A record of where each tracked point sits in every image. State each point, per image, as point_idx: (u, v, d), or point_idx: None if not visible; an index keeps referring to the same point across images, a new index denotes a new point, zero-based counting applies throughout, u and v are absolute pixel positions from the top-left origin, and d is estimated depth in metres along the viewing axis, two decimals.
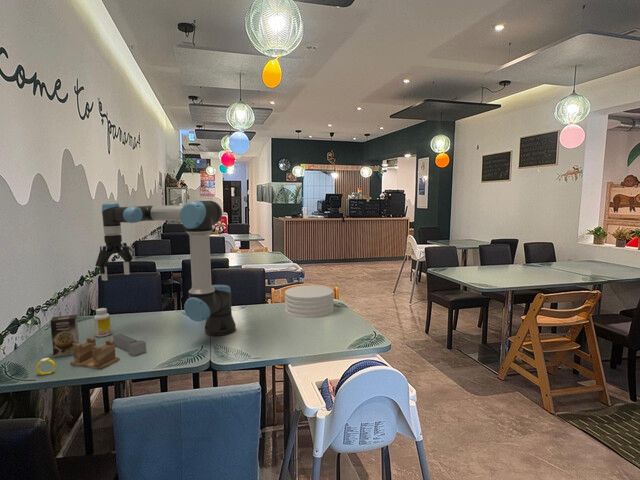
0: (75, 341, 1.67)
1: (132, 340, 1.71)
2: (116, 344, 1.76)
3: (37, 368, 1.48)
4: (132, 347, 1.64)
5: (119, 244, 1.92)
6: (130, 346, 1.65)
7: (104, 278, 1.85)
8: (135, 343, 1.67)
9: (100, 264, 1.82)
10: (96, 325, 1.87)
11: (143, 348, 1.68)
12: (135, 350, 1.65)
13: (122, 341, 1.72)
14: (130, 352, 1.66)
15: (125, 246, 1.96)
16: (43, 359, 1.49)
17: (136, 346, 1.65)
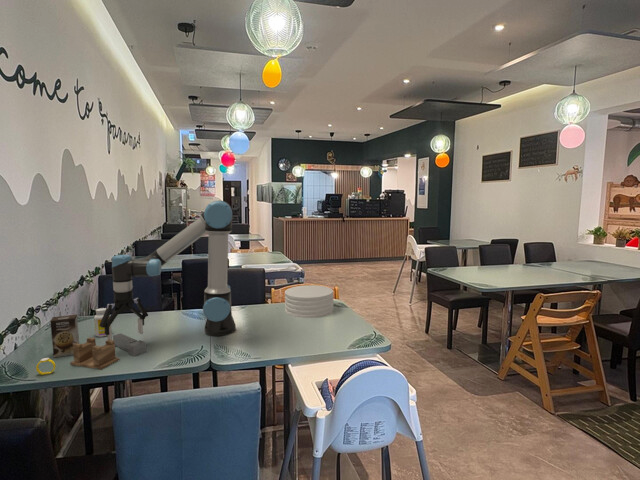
0: (75, 341, 1.67)
1: (132, 340, 1.71)
2: (116, 344, 1.76)
3: (37, 368, 1.48)
4: (132, 347, 1.64)
5: (130, 301, 1.72)
6: (130, 346, 1.65)
7: (109, 339, 1.66)
8: (135, 343, 1.67)
9: (103, 325, 1.63)
10: (96, 325, 1.87)
11: (143, 348, 1.68)
12: (135, 350, 1.65)
13: (122, 341, 1.72)
14: (130, 352, 1.66)
15: (138, 302, 1.75)
16: (43, 359, 1.49)
17: (136, 346, 1.65)
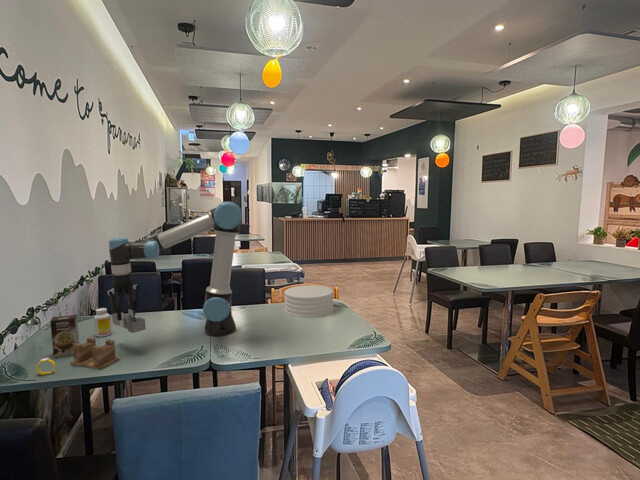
0: (75, 341, 1.67)
1: (131, 317, 1.70)
2: (115, 322, 1.75)
3: (37, 368, 1.48)
4: (131, 324, 1.63)
5: (130, 283, 1.71)
6: (129, 323, 1.64)
7: (121, 325, 1.70)
8: (134, 320, 1.66)
9: (115, 311, 1.66)
10: (96, 325, 1.87)
11: (142, 325, 1.67)
12: (135, 326, 1.64)
13: None
14: (129, 329, 1.65)
15: (136, 289, 1.73)
16: (43, 359, 1.49)
17: (135, 323, 1.64)
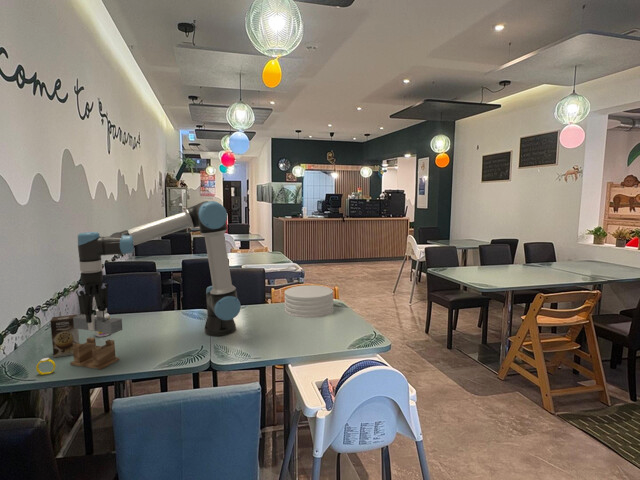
0: (75, 341, 1.67)
1: (103, 318, 1.56)
2: (79, 326, 1.57)
3: (37, 368, 1.48)
4: (109, 324, 1.51)
5: (100, 281, 1.57)
6: (105, 324, 1.51)
7: (91, 328, 1.54)
8: (110, 320, 1.53)
9: (86, 312, 1.51)
10: None
11: (119, 325, 1.55)
12: (113, 327, 1.52)
13: None
14: (105, 330, 1.52)
15: (106, 288, 1.60)
16: (43, 359, 1.49)
17: (113, 323, 1.52)
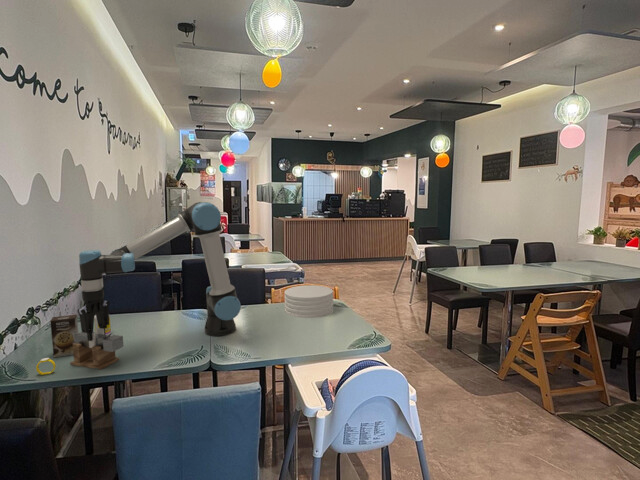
0: None
1: (104, 336, 1.56)
2: None
3: (37, 368, 1.48)
4: (110, 342, 1.52)
5: (101, 299, 1.58)
6: (107, 341, 1.52)
7: (92, 345, 1.55)
8: (111, 338, 1.54)
9: (87, 330, 1.51)
10: (96, 325, 1.87)
11: (120, 342, 1.56)
12: (114, 344, 1.53)
13: None
14: (106, 348, 1.53)
15: (107, 305, 1.60)
16: (43, 359, 1.49)
17: (114, 340, 1.53)
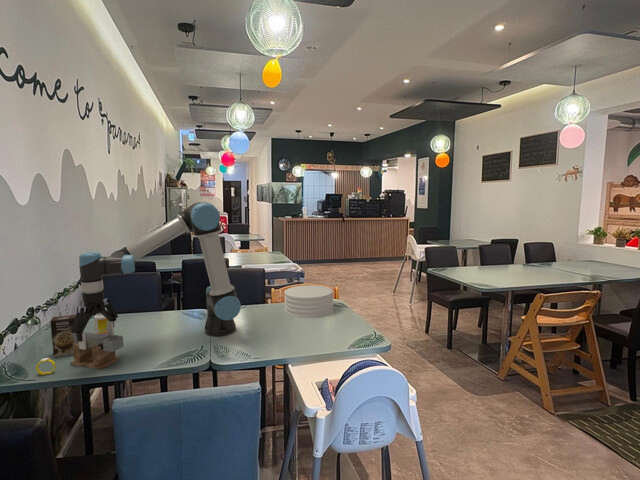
0: None
1: (104, 336, 1.56)
2: None
3: (37, 368, 1.48)
4: (110, 342, 1.52)
5: (101, 302, 1.58)
6: (107, 341, 1.52)
7: (82, 346, 1.50)
8: (111, 338, 1.54)
9: (77, 331, 1.47)
10: (96, 325, 1.87)
11: (120, 342, 1.56)
12: (114, 344, 1.53)
13: (90, 339, 1.56)
14: (106, 348, 1.53)
15: (108, 303, 1.61)
16: (43, 359, 1.49)
17: (114, 340, 1.53)
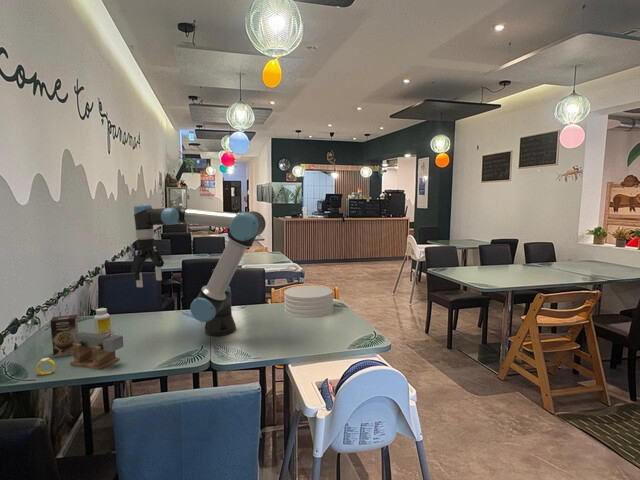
0: None
1: (104, 336, 1.56)
2: None
3: (37, 368, 1.48)
4: (110, 342, 1.52)
5: (152, 248, 1.81)
6: (107, 341, 1.52)
7: (139, 285, 1.74)
8: (111, 338, 1.54)
9: (136, 270, 1.71)
10: (96, 325, 1.87)
11: (120, 342, 1.56)
12: (114, 344, 1.53)
13: (90, 339, 1.56)
14: (106, 348, 1.53)
15: (157, 250, 1.85)
16: (43, 359, 1.49)
17: (114, 340, 1.53)
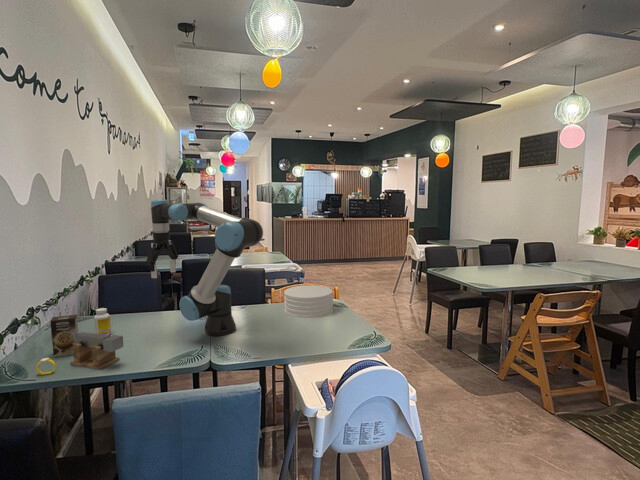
0: None
1: (104, 336, 1.56)
2: None
3: (37, 368, 1.48)
4: (110, 342, 1.52)
5: (167, 241, 1.90)
6: (107, 341, 1.52)
7: (154, 276, 1.83)
8: (111, 338, 1.54)
9: (151, 261, 1.80)
10: (96, 325, 1.87)
11: (120, 342, 1.56)
12: (114, 344, 1.53)
13: (90, 339, 1.56)
14: (106, 348, 1.53)
15: (172, 243, 1.94)
16: (43, 359, 1.49)
17: (114, 340, 1.53)
